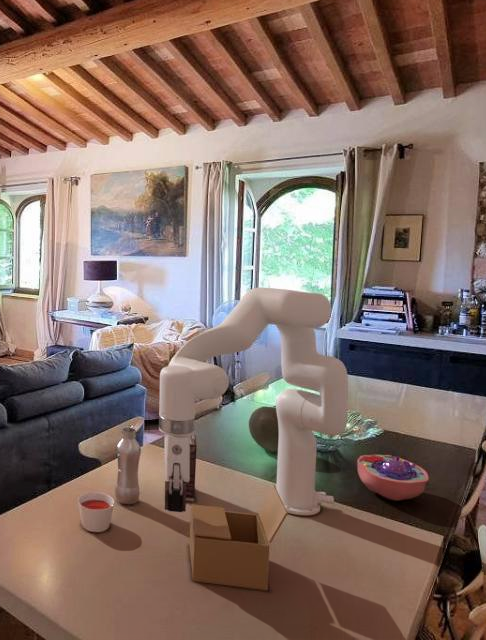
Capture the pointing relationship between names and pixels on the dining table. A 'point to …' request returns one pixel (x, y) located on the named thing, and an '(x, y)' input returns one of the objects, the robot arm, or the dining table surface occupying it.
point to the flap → (272, 513)
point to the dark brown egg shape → (265, 428)
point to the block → (167, 495)
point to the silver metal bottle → (128, 467)
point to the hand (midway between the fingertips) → (175, 504)
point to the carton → (228, 548)
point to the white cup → (95, 511)
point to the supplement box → (191, 470)
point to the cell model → (391, 476)
